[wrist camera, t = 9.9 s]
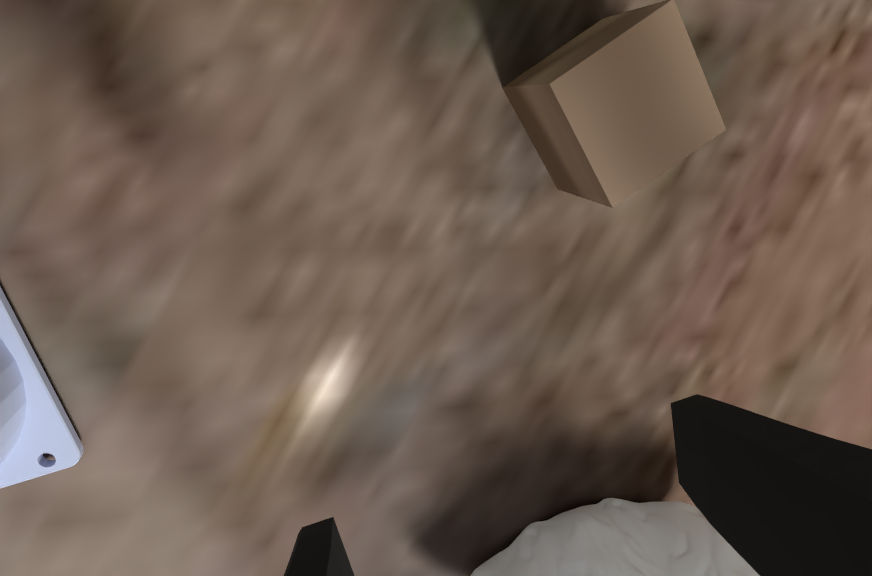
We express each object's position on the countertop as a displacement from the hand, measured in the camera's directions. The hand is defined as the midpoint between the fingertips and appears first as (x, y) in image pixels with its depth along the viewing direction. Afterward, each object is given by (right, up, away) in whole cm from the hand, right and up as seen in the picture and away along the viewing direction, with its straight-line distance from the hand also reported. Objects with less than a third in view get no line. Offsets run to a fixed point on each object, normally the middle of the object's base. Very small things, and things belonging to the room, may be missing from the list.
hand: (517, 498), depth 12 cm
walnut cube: (+3, +10, +8) cm, 14 cm away
